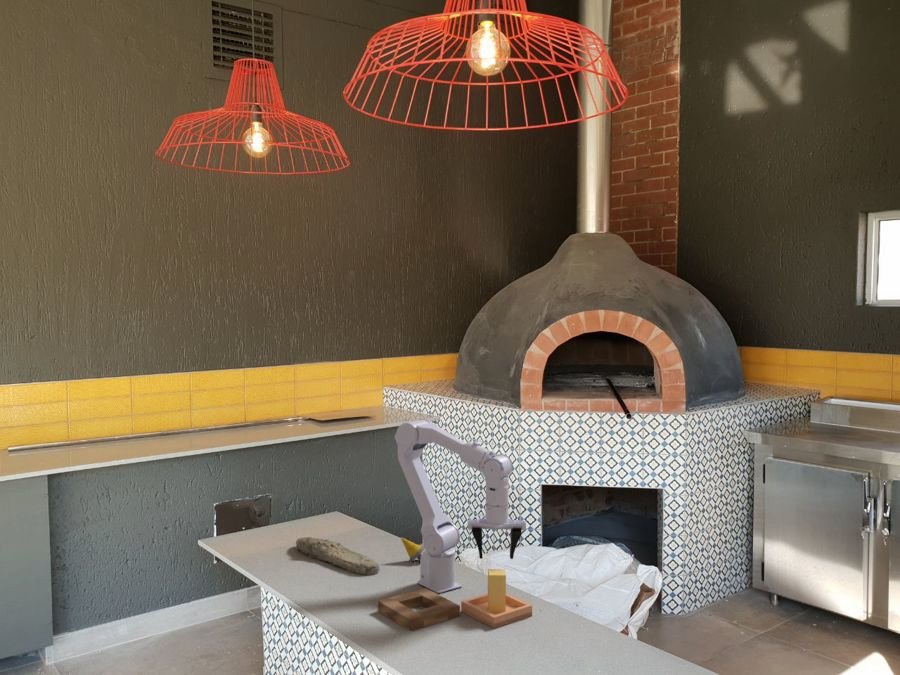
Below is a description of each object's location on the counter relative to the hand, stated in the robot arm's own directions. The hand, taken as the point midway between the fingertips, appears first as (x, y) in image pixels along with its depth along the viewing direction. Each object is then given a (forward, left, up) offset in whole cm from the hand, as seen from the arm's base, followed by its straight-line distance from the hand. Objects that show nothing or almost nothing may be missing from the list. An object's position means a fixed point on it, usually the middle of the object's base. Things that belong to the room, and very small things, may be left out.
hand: (496, 557), depth 188 cm
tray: (+7, -6, -10) cm, 14 cm away
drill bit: (-35, -1, -11) cm, 36 cm away
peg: (+7, -6, -9) cm, 13 cm away
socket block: (-4, -21, -10) cm, 24 cm away
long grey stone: (-50, -18, -11) cm, 54 cm away
